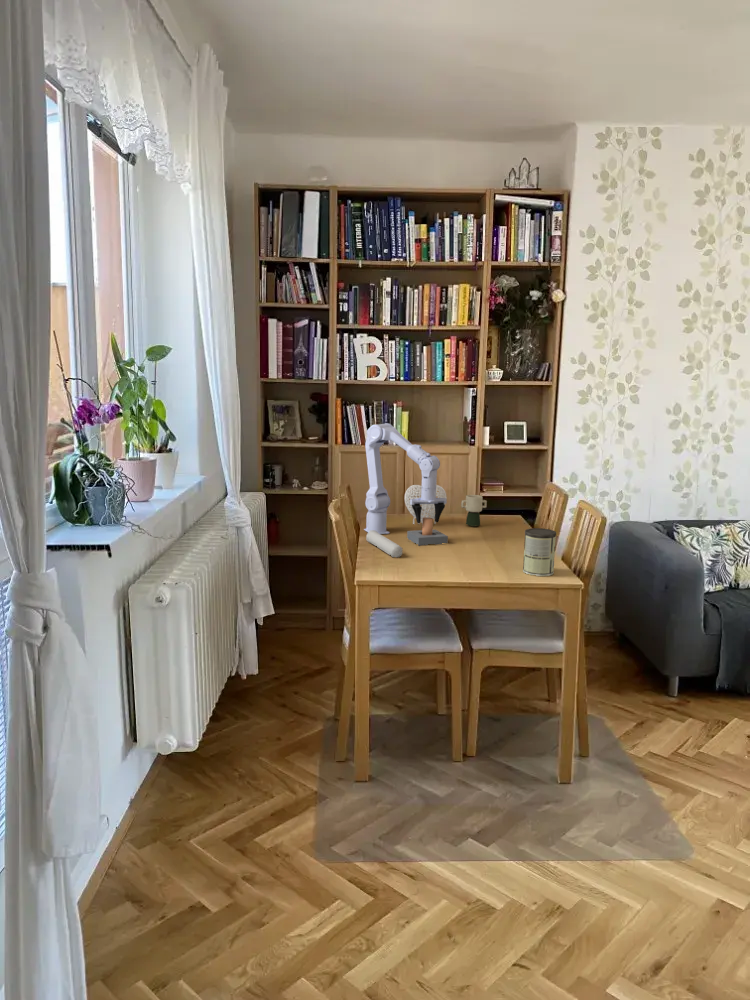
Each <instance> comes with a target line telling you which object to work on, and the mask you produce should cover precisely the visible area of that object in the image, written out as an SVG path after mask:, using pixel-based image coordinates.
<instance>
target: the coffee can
mask: <svg viewBox="0 0 750 1000" xmlns="http://www.w3.org/2000/svg"><path fill="white" fill-rule="evenodd" d="M556 538H557V531H555V530H552V529H548V528H539V527H537V528H535V527H532V528H527V529H525V530H524V545H523V547H524V548H523V551H524V552H523V567H522V572H523V574H525V573H526V575H528V574H530V575H529V576H532V575H536V576H535V577H549V576H553V575H554V572H555V571H554V569H555V555H556V554H555V551H556V540H557V539H556Z"/></svg>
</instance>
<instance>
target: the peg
mask: <svg viewBox="0 0 750 1000" xmlns="http://www.w3.org/2000/svg"><path fill="white" fill-rule="evenodd" d="M425 517H426V516H425ZM421 524H422V525H421V526H422V527H421V528H422V529H421V530H422V535H423V536H424V535H432V533H433V530H434V529H433V527H434V519H433V518H428V517H426V518H423V523H421Z"/></svg>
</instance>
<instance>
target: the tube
mask: <svg viewBox="0 0 750 1000" xmlns="http://www.w3.org/2000/svg"><path fill="white" fill-rule="evenodd" d="M365 535H366V541H367V542H368V543H369V544H372V545H373V546H375V547H376V546H377V547H376V548H378V549H380V550H381V551H383V552H384V553H386V554H387V555H389V556H390V555H391V556H390V557H392V558H394V557H396V558H400V557H401V556H402V555H403V547H402V546H400V545H399V544H398V543H396V542H394V541H393V540H391V539H389V538H387V537H386V536H384V535H383V534H379V533H378V532H377V531H375V530H370V531H369V532H367V534H365Z"/></svg>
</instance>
